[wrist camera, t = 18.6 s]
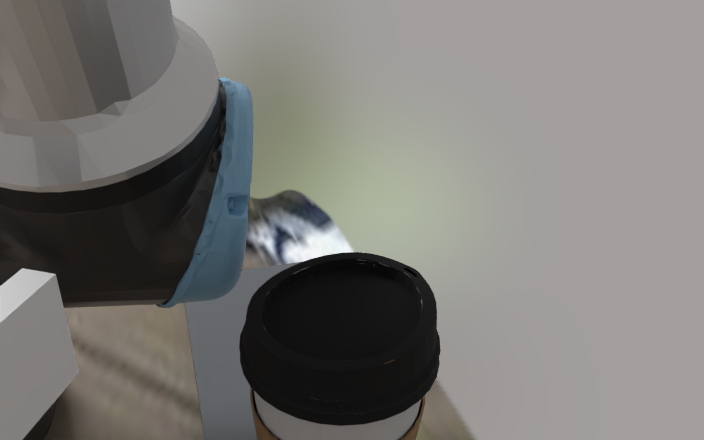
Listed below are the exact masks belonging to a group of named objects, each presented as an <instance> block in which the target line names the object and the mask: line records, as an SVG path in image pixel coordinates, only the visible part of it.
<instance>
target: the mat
mask: <svg viewBox="0 0 704 440" xmlns="http://www.w3.org/2000/svg"><path fill="white" fill-rule="evenodd" d="M299 263H301V262H298V263H291V264H284V265H276V266H269V267H262V268H255V269H247V270H241V274H240V277H239V280H238V282H237V283H236V285H235V286H234V288H233V289H232V290H231V291H230V292H229V293H227V294H226V295H224V296H223V297H220V298H218V299H214V300H207V301H196V302H186V303H185V309H186V316H187V323H188V330H189V336H190V343H191V350H192V357H193V363H194V370H195V377H196V384H197V390H198V397H199V404H200V410H201V417H202V424H203V431H204V437H205V440H257V436H256V430H255V424H254V419H253V413H252V407H251V401H250V390H251V387H250V385H249V383H248V381H247V380H246V378H245V376H244V374H243V371H242V367H241V363H240V350H239V343H240V334H241V332H242V329H243V327H244V324H245V321H246V314H247V308H248V305H249V303H250V300H251V298H252V296H253V295H254V293H255V292H256V291H257V290H258V288H259V287H260V286H261V285H262V284H264V283H265V282H266V281H267V280H268V279H270V278H271V277H273V276H274V275H276V274H278V273H279V272H281V271H283V270H285V269H287V268H289V267H291V266H294V265H296V264H299Z"/></svg>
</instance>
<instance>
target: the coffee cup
mask: <svg viewBox="0 0 704 440" xmlns="http://www.w3.org/2000/svg"><path fill="white" fill-rule="evenodd" d="M436 321H437V310H436V301H435V297H434V294H433V292H432V290H431V288H430V286H429V285H428V283H427V282H426V281H425V279H424V278H423V277H422V275H421V274H420V273H419V272H418V271H416V270H415V269H413V268H411V267H409V266H407V265H405V264H402V263H400V262H398V261H395V260H392V259H389V258H386V257H383V256H379V255H374V254H369V253H358V252H354V253H339V254H332V255H326V256H322V257H318V258H314V259H310V260H307V261H304V262H301V263H299V264H296V265H294V266H291V267H289V268H287V269H285V270H283V271H281V272H279V273H278V274H276V275H274V276H273V277H271V278H270V279H268V280H267V281H266V282H265V283H264V284H262V285H261V286H260V287H259V288H258V290H257V291H256V292H255V293H254V295H253V296H252V298H251V300H250V303H249V305H248V308H247V314H246V321H245V324H244V327H243V329H242V332H241V334H240V343H239V350H240V363H241V367H242V371H243V374H244V376H245V378H246V380H247V381H248V383H249V385H250V387H251V390H250V401H251V407H252V413H253V419H254V424H255V430H256V436H257V440H415V439H416V436H417V432H418V429H419V425H420V421H421V418H422V414H423V410H424V405H425V394H426V393H427V392H428V391H429V390H430V388H431V386H432V384H433V383H434V381H435V379H436V377H437V373H438V368H439V355H440V339H439V335H438V332H437V329H436V326H437V324H436V323H437V322H436Z"/></svg>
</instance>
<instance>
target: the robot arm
mask: <svg viewBox="0 0 704 440" xmlns="http://www.w3.org/2000/svg"><path fill="white" fill-rule="evenodd" d="M252 156H253V103H252V96H251V93H250V90H249V89H248V88H247V86H245V85H243V84H242V83H239V82H233V81H231V80H230V79H228V78H226V77H225V78H219V77H218V72H217V68H216V65H215V61H214V58H213V55H212V52H211V50H210V49H209V47H208V46H207V44H206V43H205V41H204V40H203V39H202V38H201V37H200V36H199V35H198V34H197V33H196V31H195V30H193V29H192V28H191V27H189V26H188V25H187V24H186V23H184V22H183V21H181V20H179V19H178V18H176V17H174V16H173V15H172V10H171V5H170V0H0V440H42V439H43V437H44V436H45V434H46V432H47V430H48V428H49V425H50V423H51V420H52V417H53V413H54V408H55V401H56V400H57V398H58V397H59V396H60V395H61V394H62V392H63V391H64V390H65V389H66V388H67V387H68V385H69V384H70V383H71V382H72V381H73V380H74V378H75V377H76V376H77V375H78V374H79V369H78V365H77V361H76V357H75V352H74V348H73V344H72V340H71V336H70V332H69V327H68V323H67V319H66V315H65V311H64V308H73V307H99V306H124V305H153V304H156V305H157V306H158V307H162V308H170V307H173V306H174V305H176V304H177V303H186V302H196V301H207V300H214V299H218V298H220V297H223V296H224V295H226V294H227V293H229V292H230V291H231V290H232V289H233V288H234V286H235V285H236V283H237V282H238V280H239V277H240V274H241V270H242V266H243V260H244V253H245V246H246V237H247V227H248V204H247V202H248V200H249V195H250V183H251V175H252Z"/></svg>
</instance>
